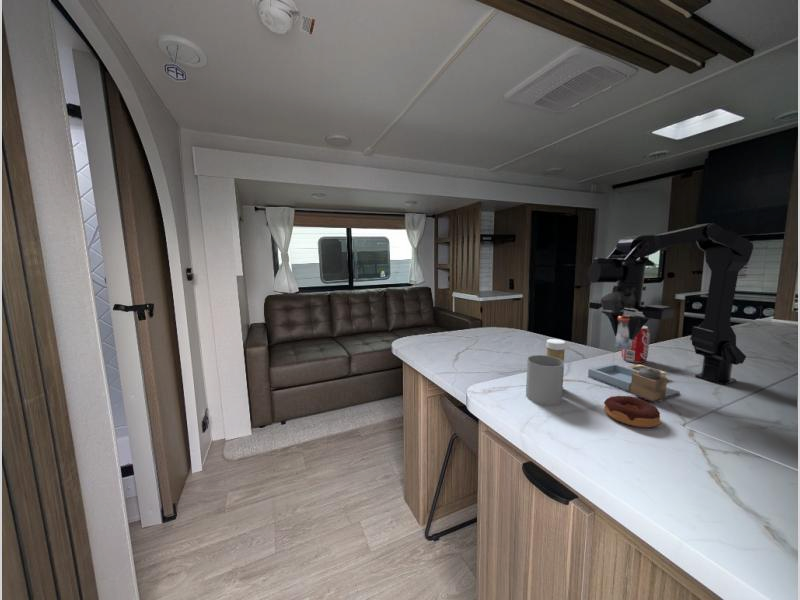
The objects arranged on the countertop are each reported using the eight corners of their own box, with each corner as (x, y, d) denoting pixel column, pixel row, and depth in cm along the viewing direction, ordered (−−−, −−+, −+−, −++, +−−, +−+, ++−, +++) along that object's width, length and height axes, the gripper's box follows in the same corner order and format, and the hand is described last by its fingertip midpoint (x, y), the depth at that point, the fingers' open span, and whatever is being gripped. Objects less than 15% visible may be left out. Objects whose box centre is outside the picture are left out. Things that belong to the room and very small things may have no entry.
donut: (644, 409, 70) (646, 394, 69) (671, 434, 60) (673, 416, 60) (596, 405, 72) (597, 389, 72) (614, 427, 63) (616, 410, 62)
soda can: (645, 359, 102) (648, 325, 100) (648, 365, 96) (652, 329, 94) (619, 355, 106) (622, 322, 104) (621, 361, 100) (624, 327, 98)
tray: (612, 370, 93) (613, 363, 92) (654, 384, 82) (655, 376, 82) (588, 376, 88) (588, 368, 88) (628, 392, 78) (629, 383, 78)
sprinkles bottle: (566, 388, 81) (569, 341, 79) (557, 393, 79) (560, 344, 77) (549, 383, 85) (552, 337, 83) (540, 387, 82) (543, 340, 80)
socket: (638, 370, 93) (639, 364, 92) (665, 378, 86) (666, 372, 86) (624, 374, 90) (624, 367, 90) (650, 382, 84) (651, 376, 83)
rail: (661, 387, 80) (661, 385, 80) (679, 394, 77) (679, 391, 77) (635, 395, 76) (635, 393, 76) (653, 402, 73) (654, 400, 73)
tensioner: (642, 388, 78) (645, 363, 77) (665, 396, 73) (668, 370, 72) (630, 392, 76) (632, 366, 75) (652, 401, 72) (656, 373, 70)
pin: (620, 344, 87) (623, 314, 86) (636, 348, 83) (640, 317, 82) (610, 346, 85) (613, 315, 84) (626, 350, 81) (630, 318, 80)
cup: (566, 397, 77) (568, 359, 75) (556, 409, 71) (558, 369, 69) (532, 387, 82) (534, 353, 81) (520, 398, 76) (522, 361, 75)
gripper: (577, 281, 87) (573, 332, 89) (651, 287, 70) (643, 351, 72) (603, 279, 91) (598, 329, 93) (678, 285, 74) (670, 345, 76)
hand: (624, 337), depth 84 cm, fingers closed on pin, 4 cm apart
